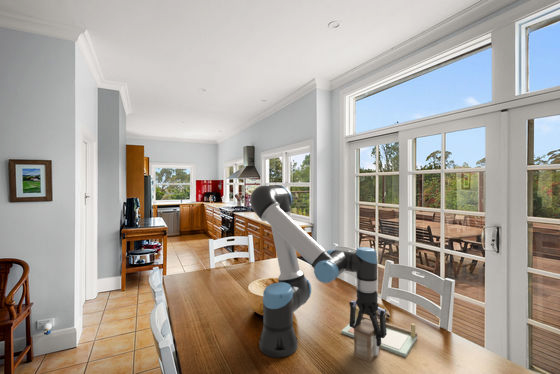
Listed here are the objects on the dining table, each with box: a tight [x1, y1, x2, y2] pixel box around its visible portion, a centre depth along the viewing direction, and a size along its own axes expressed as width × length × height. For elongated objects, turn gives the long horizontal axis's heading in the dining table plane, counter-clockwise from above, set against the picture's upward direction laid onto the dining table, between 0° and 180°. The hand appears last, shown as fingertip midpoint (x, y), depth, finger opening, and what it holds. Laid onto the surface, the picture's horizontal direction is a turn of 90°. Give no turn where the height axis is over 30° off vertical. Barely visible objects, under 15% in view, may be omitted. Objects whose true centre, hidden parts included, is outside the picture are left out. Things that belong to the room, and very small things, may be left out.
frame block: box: [353, 319, 381, 363], centre depth 104 cm, size 10×6×10 cm, turn 140°
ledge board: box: [341, 306, 418, 358], centre depth 115 cm, size 26×16×6 cm, turn 50°
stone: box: [376, 302, 391, 319], centre depth 135 cm, size 5×14×4 cm, turn 3°
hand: (367, 350), depth 104 cm, fingers closed on frame block, 6 cm apart
